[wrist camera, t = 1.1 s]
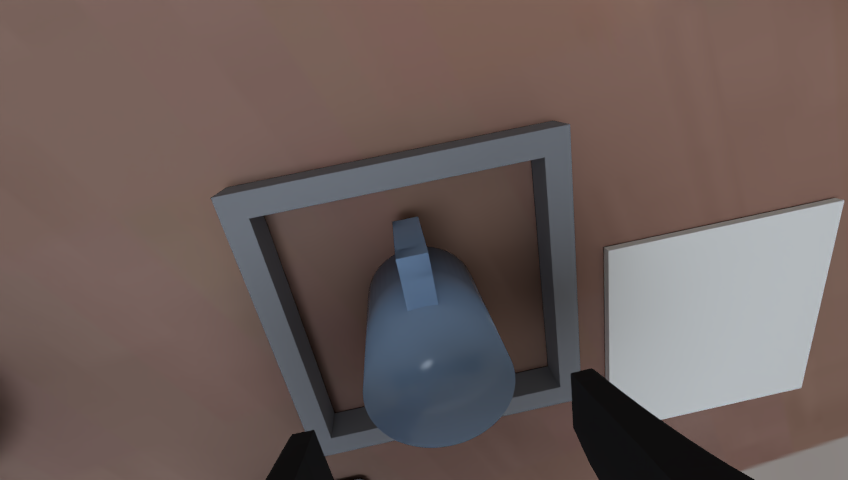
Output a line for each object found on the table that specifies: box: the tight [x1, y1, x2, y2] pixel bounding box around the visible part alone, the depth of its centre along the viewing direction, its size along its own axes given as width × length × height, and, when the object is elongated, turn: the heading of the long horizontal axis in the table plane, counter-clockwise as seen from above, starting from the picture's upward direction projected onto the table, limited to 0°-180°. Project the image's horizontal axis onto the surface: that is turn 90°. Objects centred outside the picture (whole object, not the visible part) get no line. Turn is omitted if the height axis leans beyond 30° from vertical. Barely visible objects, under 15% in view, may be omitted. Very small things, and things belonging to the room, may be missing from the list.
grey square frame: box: [211, 121, 580, 456], centre depth 17 cm, size 13×13×2 cm
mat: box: [604, 198, 844, 420], centre depth 20 cm, size 11×11×1 cm
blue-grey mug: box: [363, 217, 515, 448], centre depth 15 cm, size 7×5×6 cm
